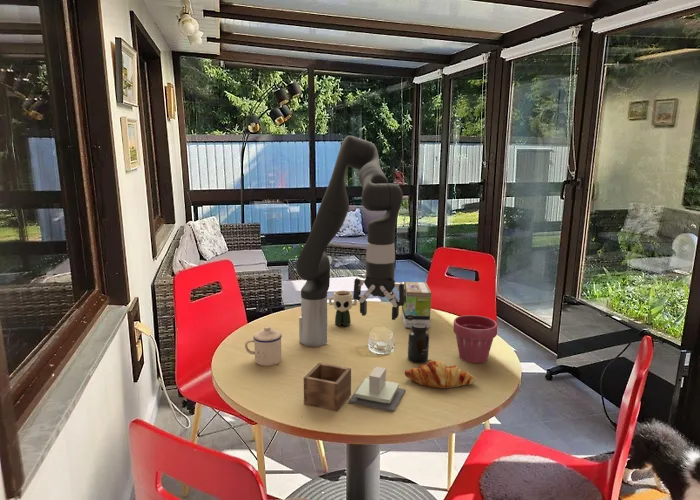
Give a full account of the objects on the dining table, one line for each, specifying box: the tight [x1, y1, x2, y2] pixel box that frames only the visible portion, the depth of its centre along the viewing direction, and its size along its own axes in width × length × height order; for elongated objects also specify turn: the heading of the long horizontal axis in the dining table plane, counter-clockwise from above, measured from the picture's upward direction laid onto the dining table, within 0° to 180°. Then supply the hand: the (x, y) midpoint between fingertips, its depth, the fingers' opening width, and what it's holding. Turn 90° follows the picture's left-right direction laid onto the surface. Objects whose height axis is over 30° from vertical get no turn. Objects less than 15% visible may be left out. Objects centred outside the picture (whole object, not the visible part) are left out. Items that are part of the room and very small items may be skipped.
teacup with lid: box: [244, 326, 283, 367], centre depth 157 cm, size 12×9×12 cm
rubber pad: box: [348, 381, 406, 413], centre depth 136 cm, size 13×12×1 cm
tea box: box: [401, 281, 432, 329], centre depth 193 cm, size 15×10×15 cm
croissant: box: [404, 360, 477, 389], centre depth 145 cm, size 21×10×8 cm, turn 84°
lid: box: [354, 366, 400, 403], centre depth 136 cm, size 10×10×7 cm
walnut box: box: [303, 362, 352, 413], centre depth 134 cm, size 10×10×8 cm
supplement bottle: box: [407, 323, 430, 364], centre depth 159 cm, size 7×7×12 cm
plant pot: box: [452, 314, 498, 364], centre depth 161 cm, size 14×14×13 cm
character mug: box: [328, 290, 358, 327], centre depth 190 cm, size 11×7×13 cm, turn 87°
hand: (379, 317), depth 131 cm, fingers open, 8 cm apart
